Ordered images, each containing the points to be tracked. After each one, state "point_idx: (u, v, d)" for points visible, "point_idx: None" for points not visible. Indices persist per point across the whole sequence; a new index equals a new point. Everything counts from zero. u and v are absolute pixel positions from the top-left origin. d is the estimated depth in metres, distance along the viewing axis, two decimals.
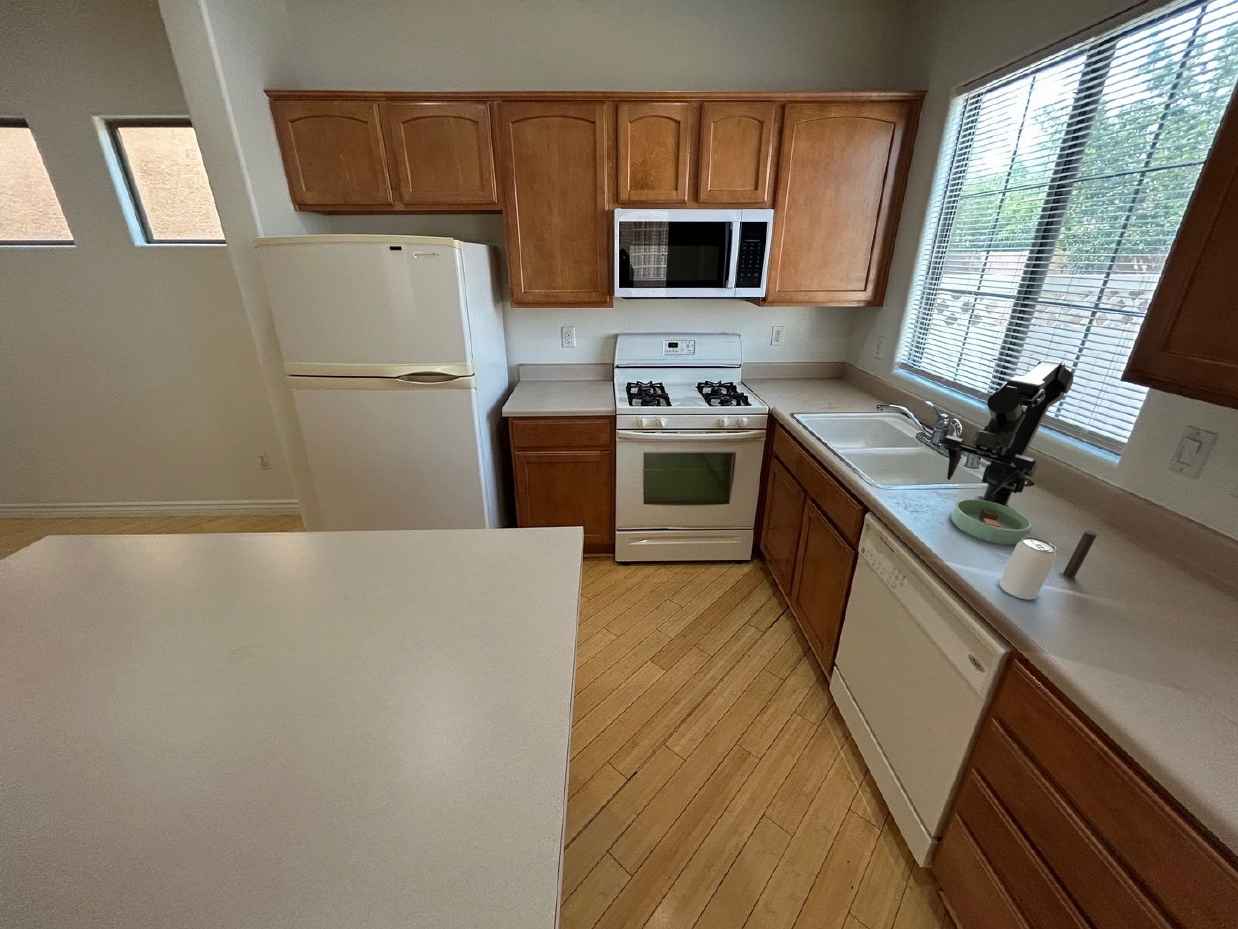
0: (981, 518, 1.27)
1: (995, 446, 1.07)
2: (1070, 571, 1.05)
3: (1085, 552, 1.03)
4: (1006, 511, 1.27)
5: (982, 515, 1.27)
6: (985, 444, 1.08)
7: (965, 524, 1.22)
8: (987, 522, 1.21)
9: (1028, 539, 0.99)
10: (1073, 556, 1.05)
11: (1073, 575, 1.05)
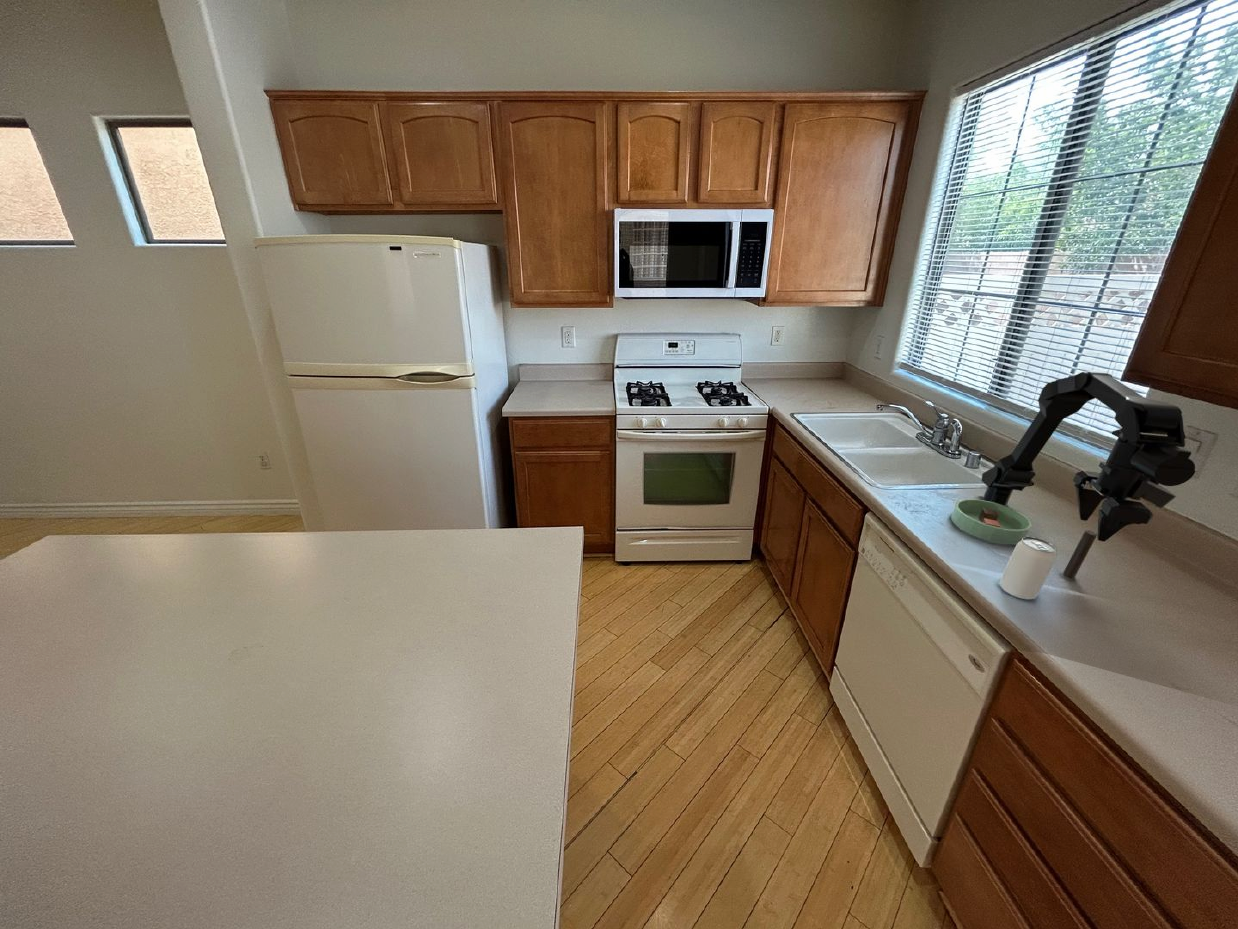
0: (981, 518, 1.27)
1: None
2: (1070, 571, 1.05)
3: (1085, 552, 1.03)
4: (1006, 511, 1.27)
5: (982, 515, 1.27)
6: None
7: (965, 524, 1.22)
8: (987, 522, 1.21)
9: (1028, 539, 0.99)
10: (1073, 556, 1.05)
11: (1073, 575, 1.05)
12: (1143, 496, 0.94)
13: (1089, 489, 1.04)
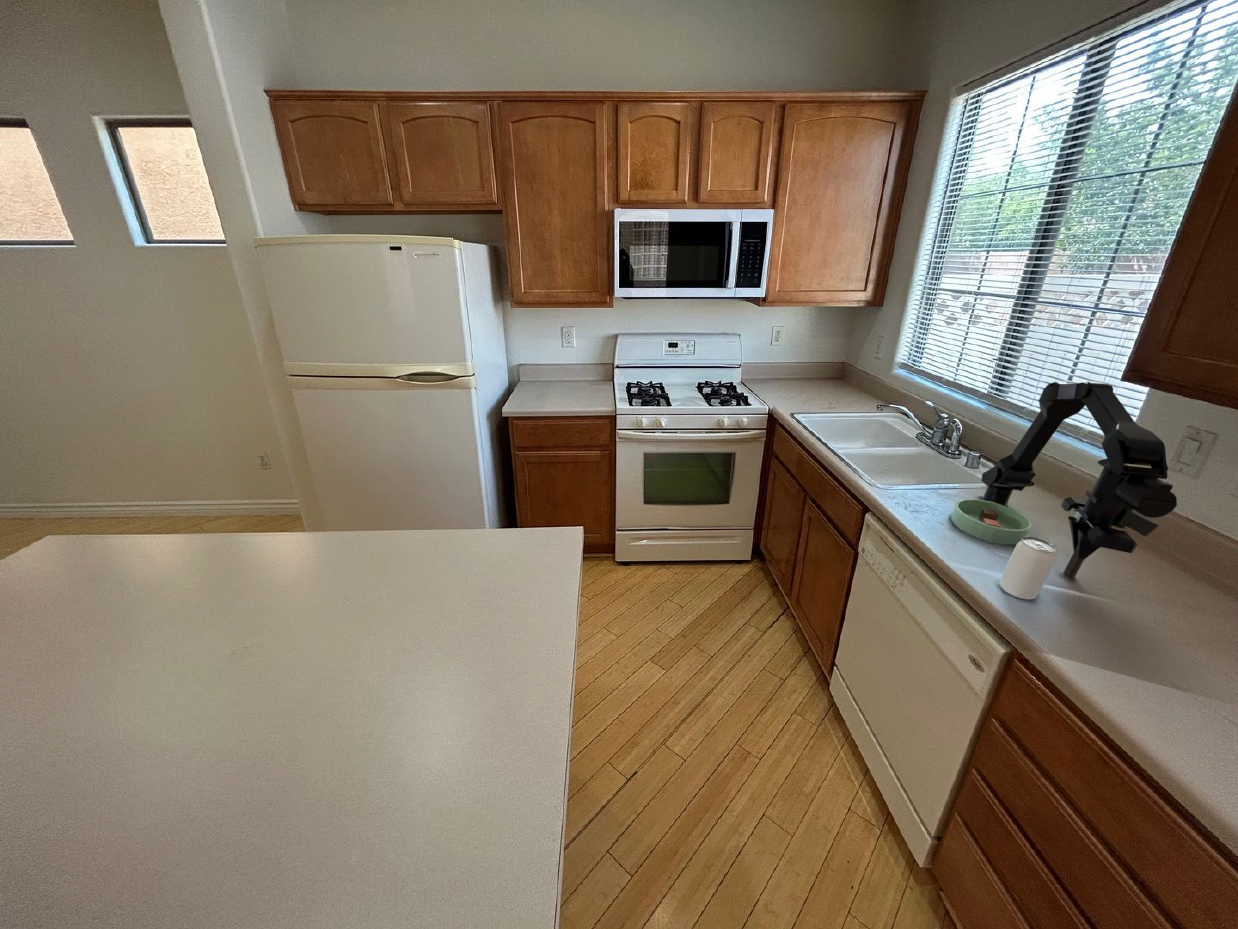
0: (981, 518, 1.27)
1: None
2: (1070, 571, 1.05)
3: None
4: (1006, 511, 1.27)
5: (982, 515, 1.27)
6: None
7: (965, 524, 1.22)
8: (987, 522, 1.21)
9: (1028, 539, 0.99)
10: (1073, 556, 1.05)
11: (1073, 575, 1.05)
12: (1128, 525, 0.97)
13: (1083, 522, 1.03)
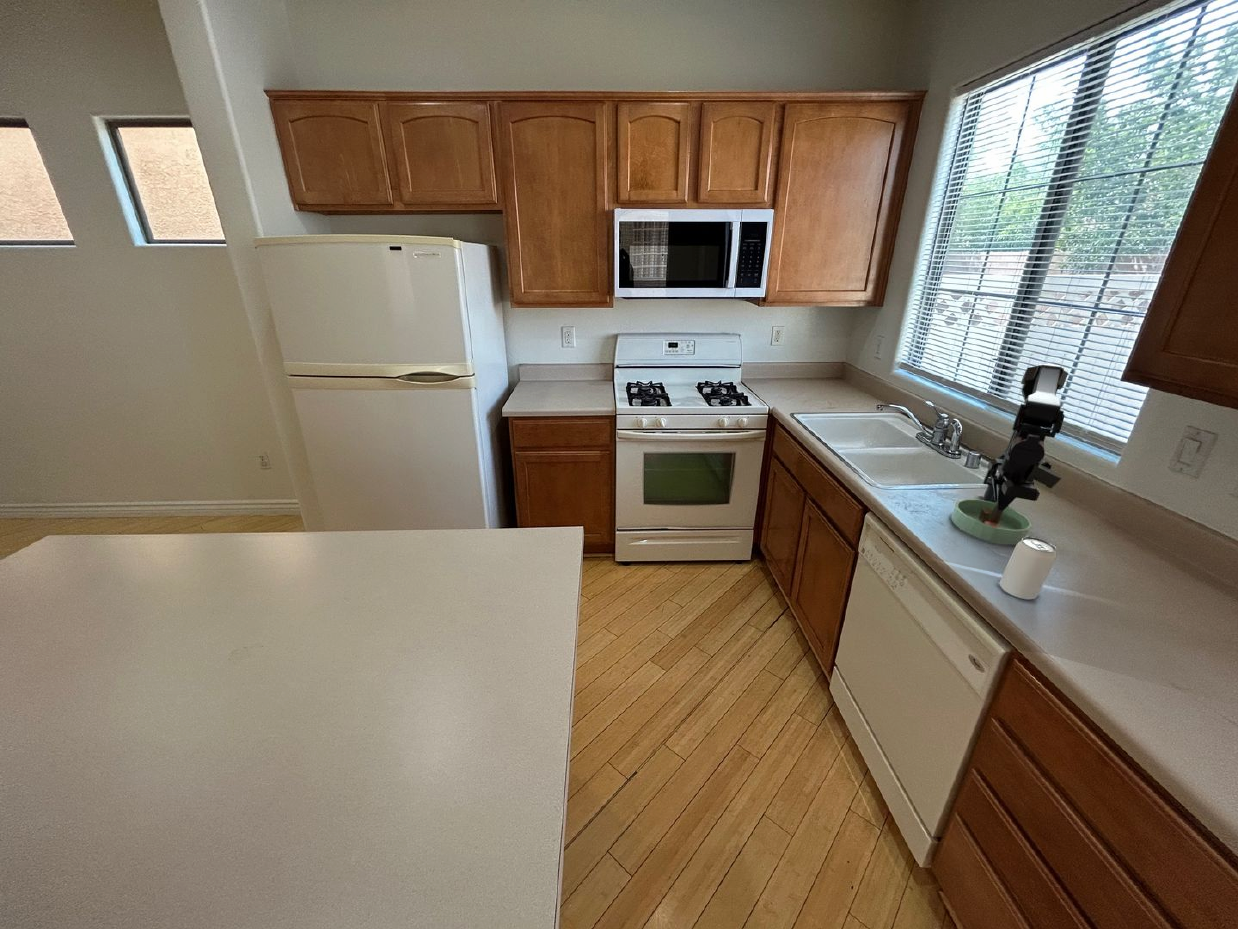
0: (981, 518, 1.27)
1: None
2: None
3: None
4: (1006, 511, 1.27)
5: (982, 515, 1.27)
6: None
7: (965, 524, 1.22)
8: None
9: (1028, 539, 0.99)
10: (994, 508, 1.21)
11: None
12: (1036, 478, 1.13)
13: (1002, 479, 1.19)
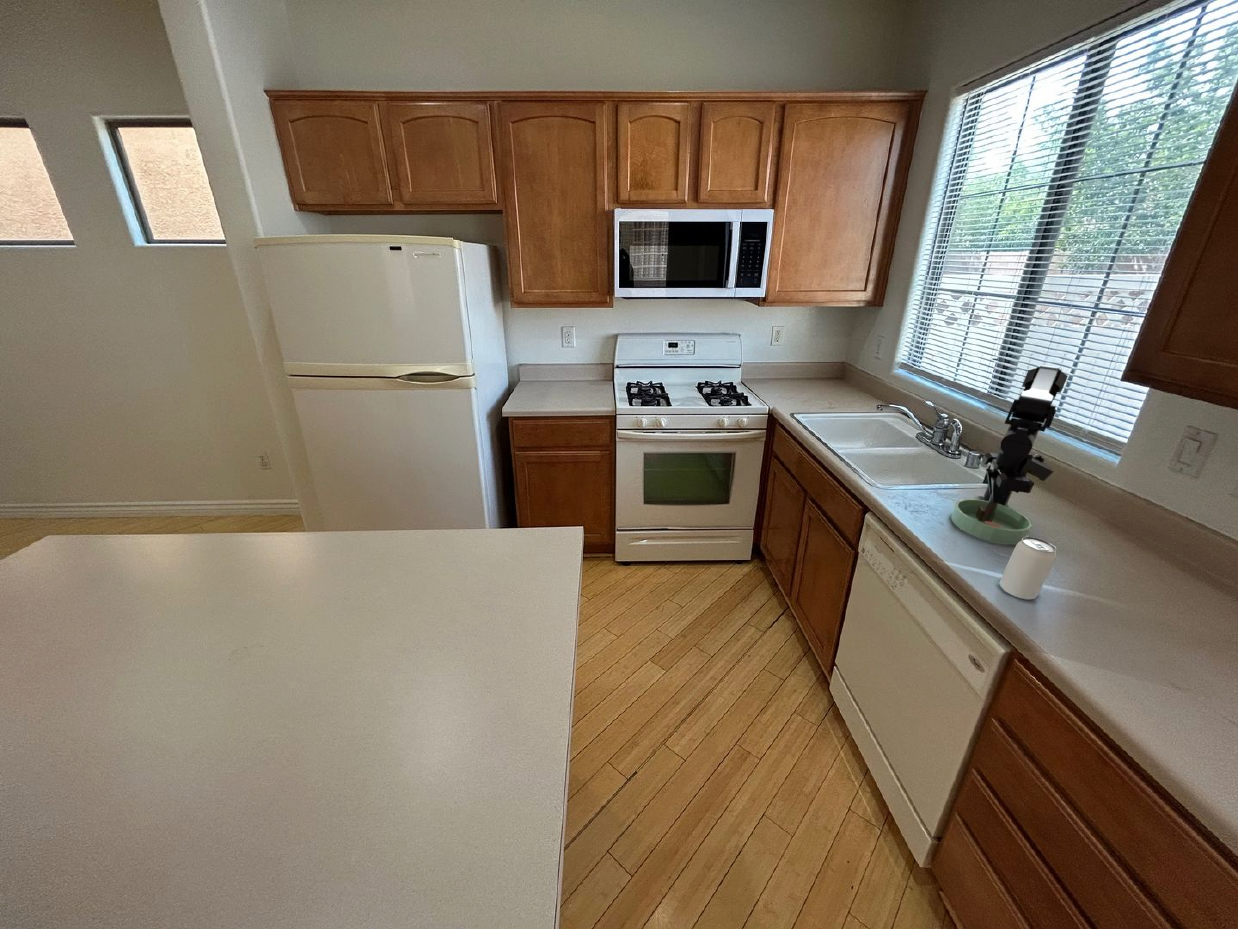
0: (978, 516, 1.29)
1: None
2: (987, 514, 1.25)
3: None
4: (1006, 511, 1.27)
5: (979, 513, 1.28)
6: None
7: (965, 524, 1.22)
8: None
9: (1028, 539, 0.99)
10: (989, 501, 1.24)
11: (990, 518, 1.25)
12: (1029, 471, 1.16)
13: (996, 472, 1.23)
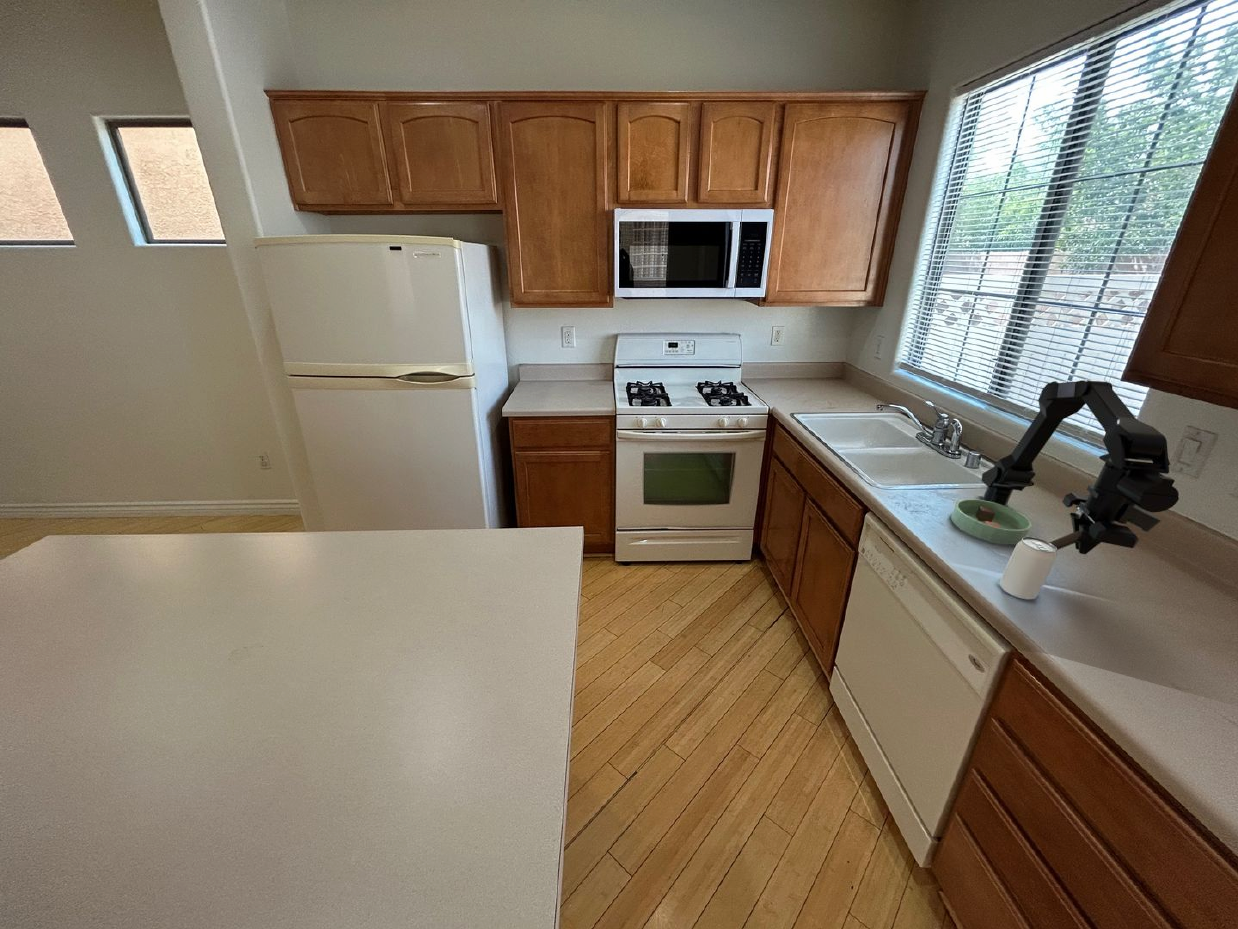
0: (978, 516, 1.29)
1: None
2: None
3: (1058, 544, 1.04)
4: (1006, 511, 1.27)
5: (979, 513, 1.28)
6: None
7: (965, 524, 1.22)
8: None
9: (1028, 539, 0.99)
10: None
11: None
12: (1129, 520, 0.96)
13: (1085, 519, 1.03)
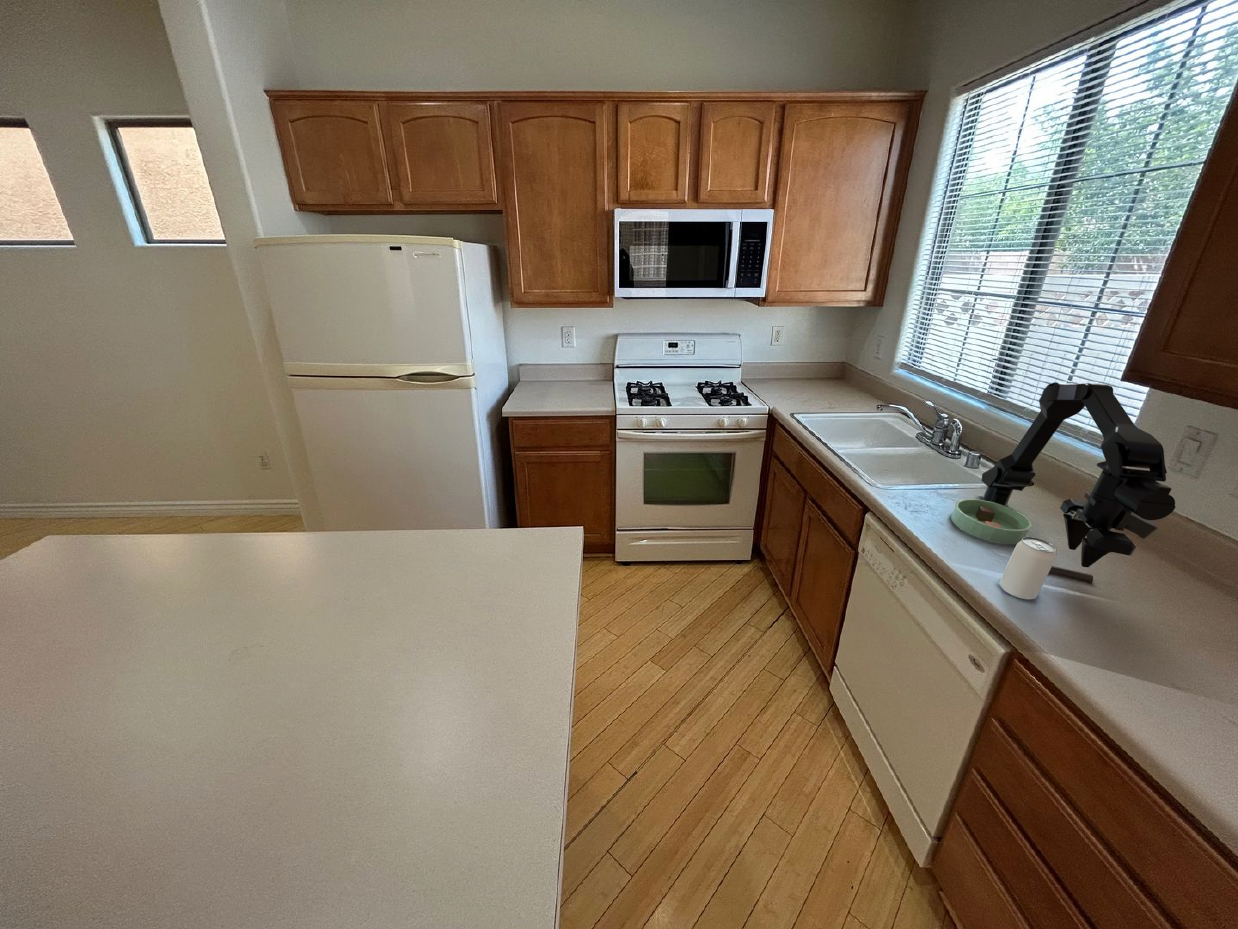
0: (978, 516, 1.29)
1: None
2: None
3: (1067, 574, 1.06)
4: (1006, 511, 1.27)
5: (979, 513, 1.28)
6: None
7: (965, 524, 1.22)
8: None
9: (1028, 539, 0.99)
10: None
11: None
12: (1127, 527, 0.97)
13: (1077, 519, 1.06)
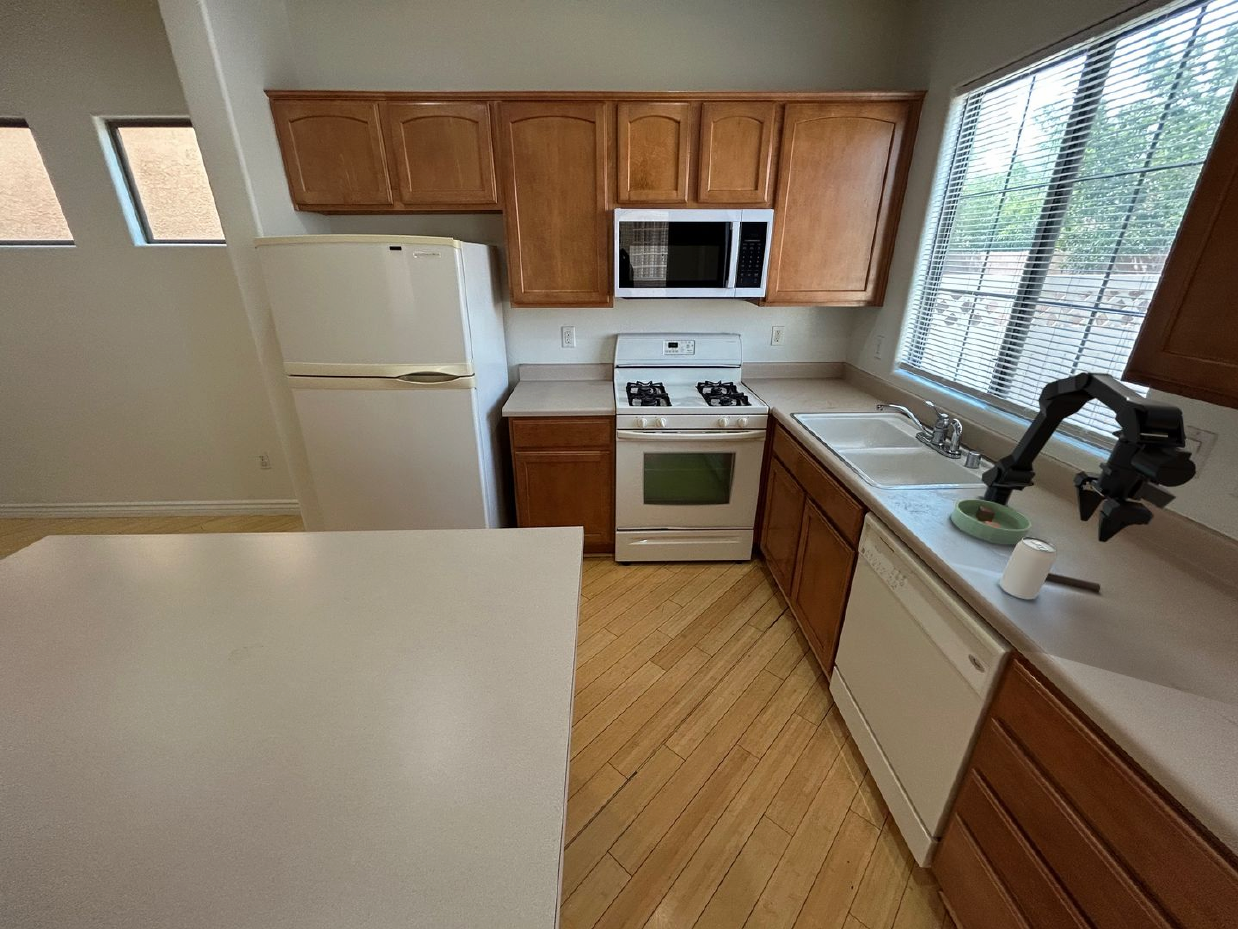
0: (978, 516, 1.29)
1: None
2: None
3: None
4: (1006, 511, 1.27)
5: (979, 513, 1.28)
6: None
7: (965, 524, 1.22)
8: None
9: (1028, 539, 0.99)
10: None
11: None
12: (1144, 497, 0.94)
13: (1089, 490, 1.04)
